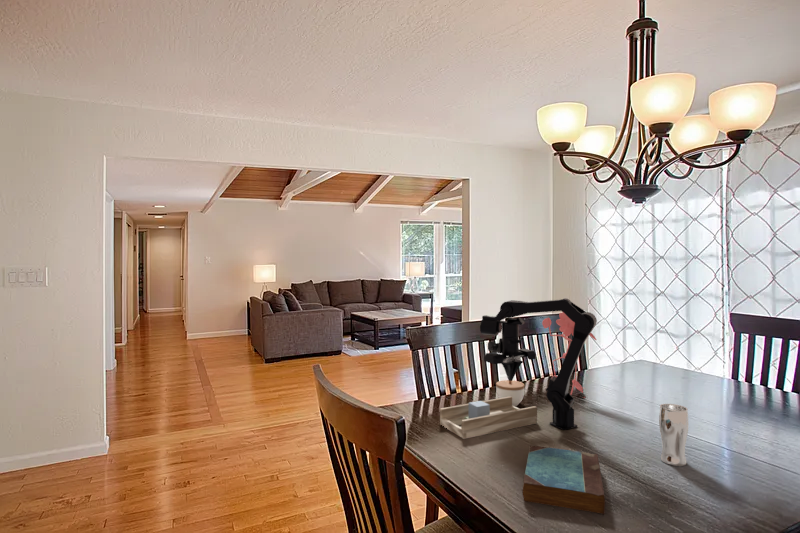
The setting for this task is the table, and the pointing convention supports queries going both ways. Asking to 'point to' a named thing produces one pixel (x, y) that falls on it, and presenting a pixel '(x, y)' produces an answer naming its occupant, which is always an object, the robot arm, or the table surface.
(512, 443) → the table surface
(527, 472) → the book
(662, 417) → the beer glass
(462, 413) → the tray
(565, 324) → the pink branch
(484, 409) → the block
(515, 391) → the lidded jar
